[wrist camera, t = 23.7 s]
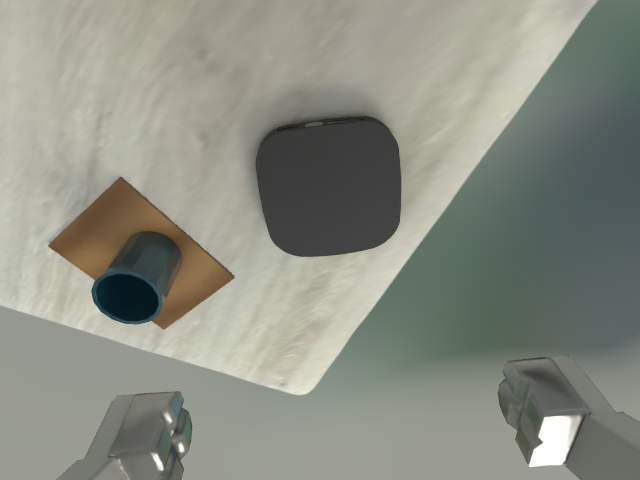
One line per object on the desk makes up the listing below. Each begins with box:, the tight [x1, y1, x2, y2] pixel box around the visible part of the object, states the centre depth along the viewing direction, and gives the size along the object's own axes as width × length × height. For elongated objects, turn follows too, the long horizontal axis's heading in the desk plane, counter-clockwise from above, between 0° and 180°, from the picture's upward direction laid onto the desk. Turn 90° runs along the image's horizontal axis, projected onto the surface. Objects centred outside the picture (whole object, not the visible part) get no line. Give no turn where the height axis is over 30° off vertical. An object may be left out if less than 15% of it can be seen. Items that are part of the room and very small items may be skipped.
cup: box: [91, 231, 182, 324], centre depth 44 cm, size 7×7×8 cm
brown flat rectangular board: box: [48, 177, 235, 329], centre depth 48 cm, size 17×13×1 cm
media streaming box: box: [256, 116, 401, 257], centre depth 43 cm, size 15×15×3 cm
